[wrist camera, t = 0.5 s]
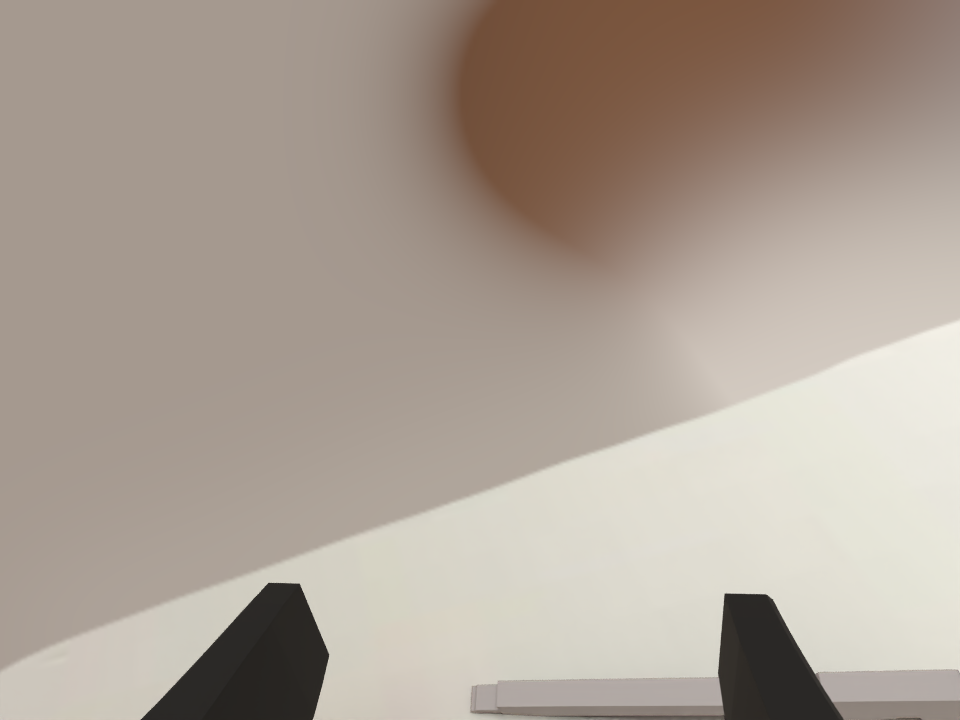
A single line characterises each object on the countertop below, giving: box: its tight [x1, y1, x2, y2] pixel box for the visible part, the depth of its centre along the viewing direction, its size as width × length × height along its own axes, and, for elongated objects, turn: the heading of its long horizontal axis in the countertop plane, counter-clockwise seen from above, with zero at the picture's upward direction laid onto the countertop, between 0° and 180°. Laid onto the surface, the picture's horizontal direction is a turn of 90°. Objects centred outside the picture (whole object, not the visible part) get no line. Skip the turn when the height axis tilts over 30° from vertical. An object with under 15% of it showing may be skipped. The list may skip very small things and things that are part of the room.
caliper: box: [471, 670, 960, 720], centre depth 24 cm, size 20×1×6 cm, turn 86°
